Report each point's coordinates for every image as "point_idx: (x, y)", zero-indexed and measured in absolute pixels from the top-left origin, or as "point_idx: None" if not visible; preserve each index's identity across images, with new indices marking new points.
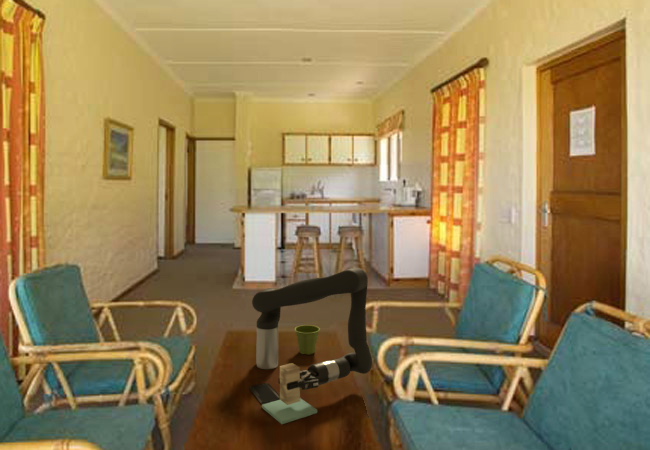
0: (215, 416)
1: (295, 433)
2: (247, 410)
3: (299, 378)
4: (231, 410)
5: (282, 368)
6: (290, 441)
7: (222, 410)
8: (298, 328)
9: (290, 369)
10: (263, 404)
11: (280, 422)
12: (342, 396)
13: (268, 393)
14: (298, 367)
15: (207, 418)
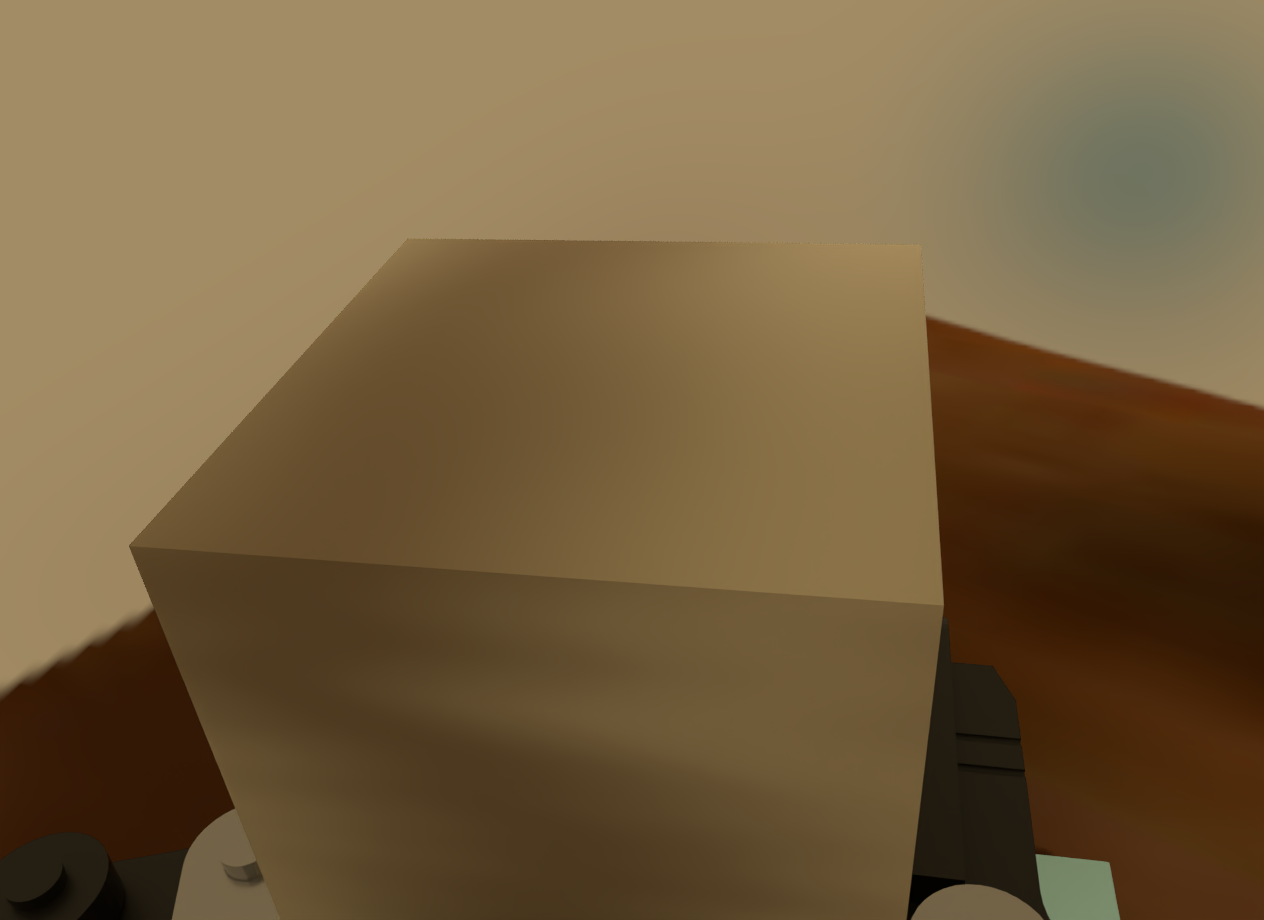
0: (1130, 453)
1: (116, 811)
2: (1111, 709)
3: (284, 907)
4: (1210, 588)
5: (706, 260)
6: (91, 683)
7: (1256, 531)
8: None
9: (373, 304)
10: (1111, 892)
11: None
12: None
13: None
14: (177, 510)
15: (1122, 407)
